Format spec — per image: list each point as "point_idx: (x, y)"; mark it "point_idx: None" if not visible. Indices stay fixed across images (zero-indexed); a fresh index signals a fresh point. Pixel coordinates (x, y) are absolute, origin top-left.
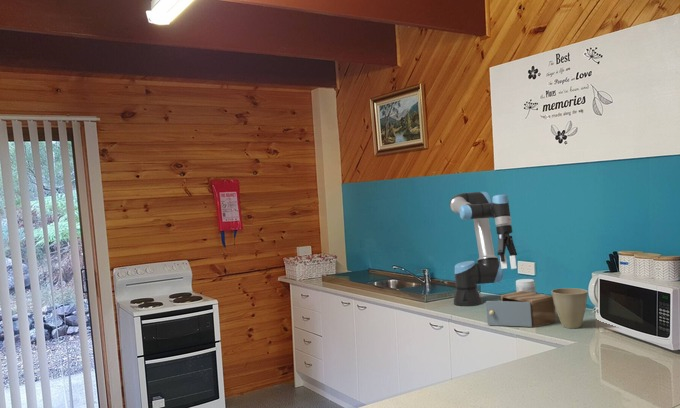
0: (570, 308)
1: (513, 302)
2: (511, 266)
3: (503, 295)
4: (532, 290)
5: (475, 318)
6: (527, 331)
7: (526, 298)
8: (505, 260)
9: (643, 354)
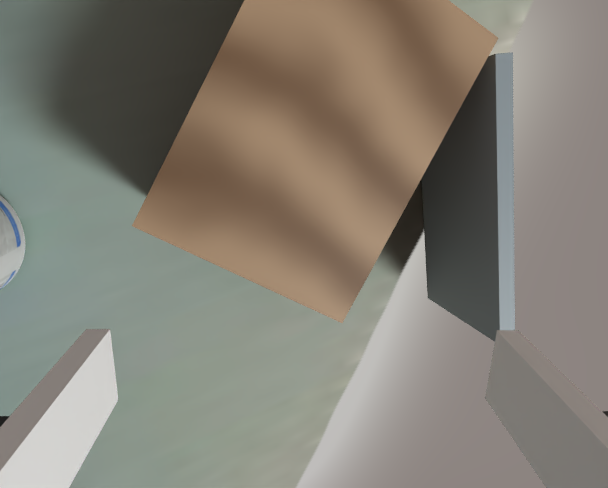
0: None
1: (511, 167)
2: (103, 414)
3: (352, 299)
4: None
5: (316, 406)
6: None
7: (428, 101)
8: (588, 407)
9: None
